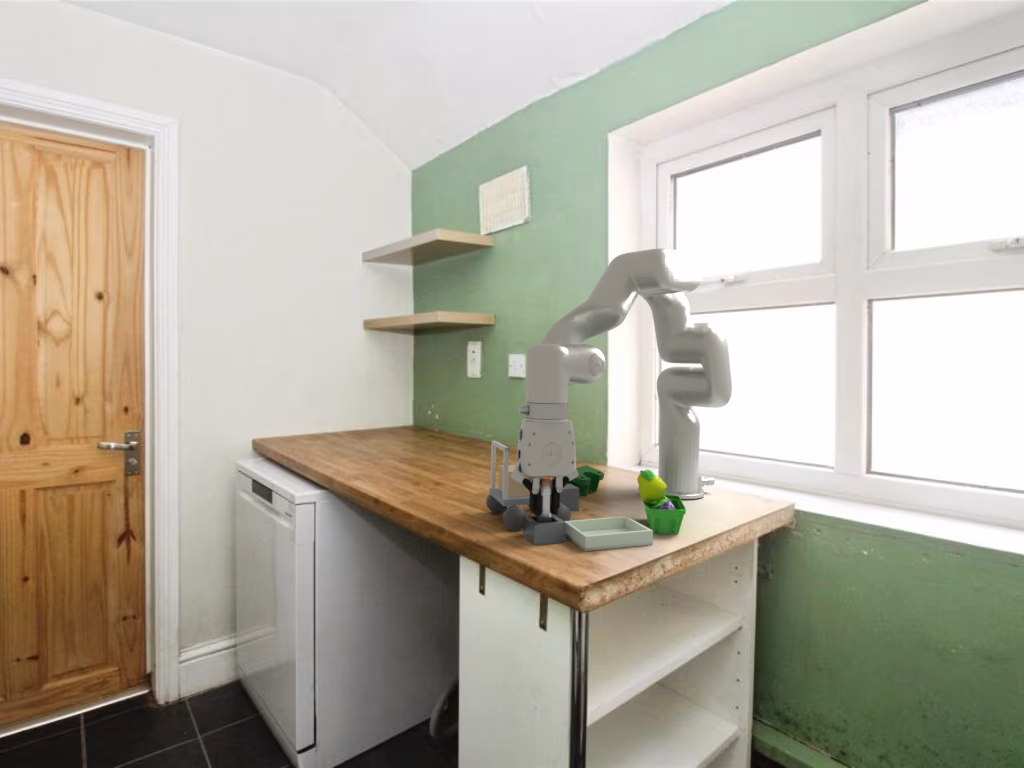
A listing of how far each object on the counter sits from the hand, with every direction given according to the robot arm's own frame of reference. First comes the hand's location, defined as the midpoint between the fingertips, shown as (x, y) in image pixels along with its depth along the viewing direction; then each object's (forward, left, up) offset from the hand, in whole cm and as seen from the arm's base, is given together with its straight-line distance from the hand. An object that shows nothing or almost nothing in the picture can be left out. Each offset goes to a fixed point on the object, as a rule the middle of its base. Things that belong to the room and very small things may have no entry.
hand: (544, 512), depth 96 cm
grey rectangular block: (-11, -17, -5) cm, 21 cm away
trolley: (-1, -12, -5) cm, 13 cm away
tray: (-11, +4, -5) cm, 12 cm away
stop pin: (0, 0, -5) cm, 5 cm away
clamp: (-22, -30, -5) cm, 38 cm away
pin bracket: (0, 0, -5) cm, 5 cm away
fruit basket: (-25, -1, -5) cm, 25 cm away
